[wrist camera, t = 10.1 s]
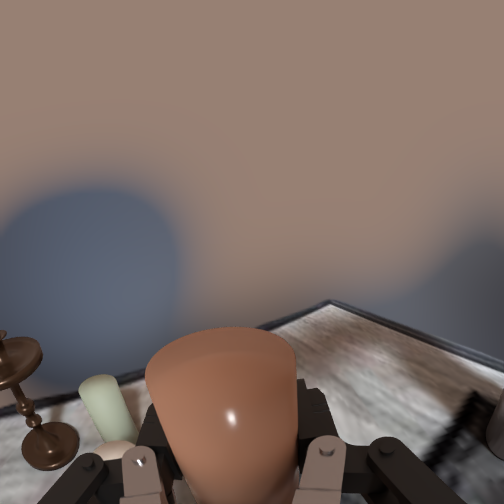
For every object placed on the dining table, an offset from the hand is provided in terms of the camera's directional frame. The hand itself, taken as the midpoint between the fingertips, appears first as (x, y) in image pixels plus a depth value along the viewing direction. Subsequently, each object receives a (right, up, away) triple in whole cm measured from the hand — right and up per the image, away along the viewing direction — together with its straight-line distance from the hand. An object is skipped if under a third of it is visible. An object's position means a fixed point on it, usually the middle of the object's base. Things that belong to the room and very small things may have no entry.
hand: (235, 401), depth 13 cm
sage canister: (-15, -17, +18) cm, 29 cm away
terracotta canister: (+1, -6, -1) cm, 7 cm away
